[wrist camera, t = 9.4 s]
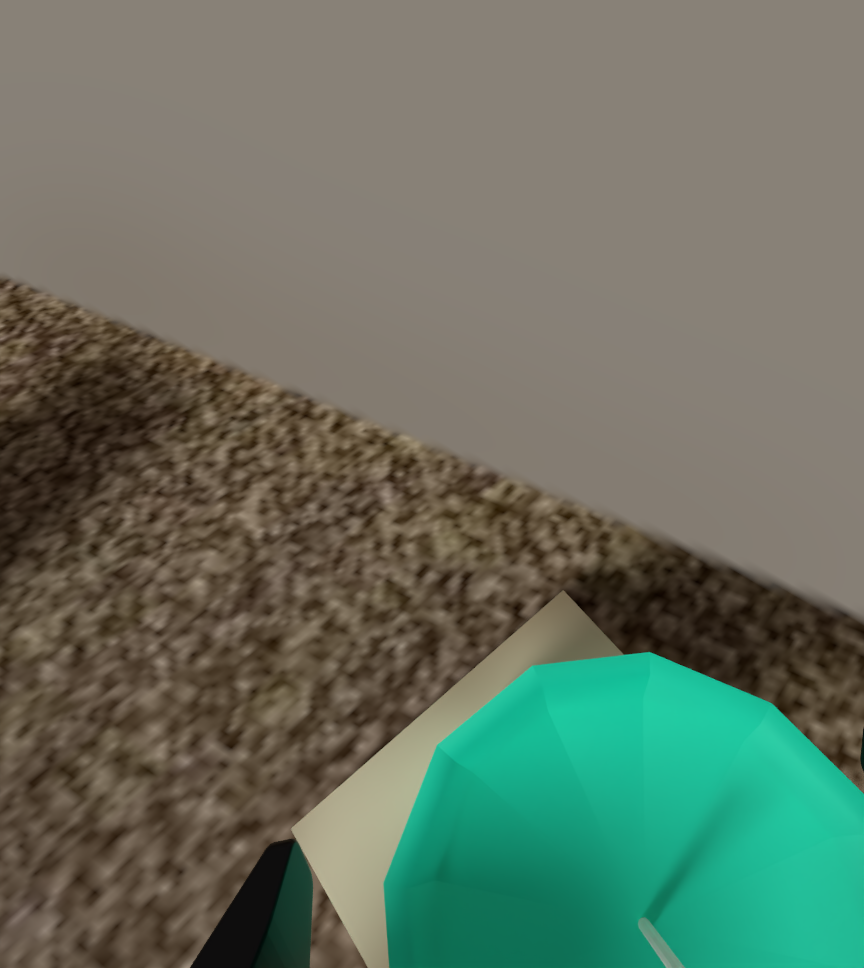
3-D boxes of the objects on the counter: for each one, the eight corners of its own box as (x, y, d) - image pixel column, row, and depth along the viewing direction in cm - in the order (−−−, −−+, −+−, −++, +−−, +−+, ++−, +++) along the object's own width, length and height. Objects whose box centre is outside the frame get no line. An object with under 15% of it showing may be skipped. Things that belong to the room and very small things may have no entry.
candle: (421, 736, 16) (269, 770, 5) (598, 659, 17) (796, 543, 6) (503, 974, 14) (532, 1949, 3) (709, 877, 14) (1441, 1418, 3)
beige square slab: (861, 931, 15) (912, 961, 13) (575, 1272, 13) (588, 1363, 11) (557, 602, 19) (563, 590, 18) (311, 817, 17) (290, 829, 16)
